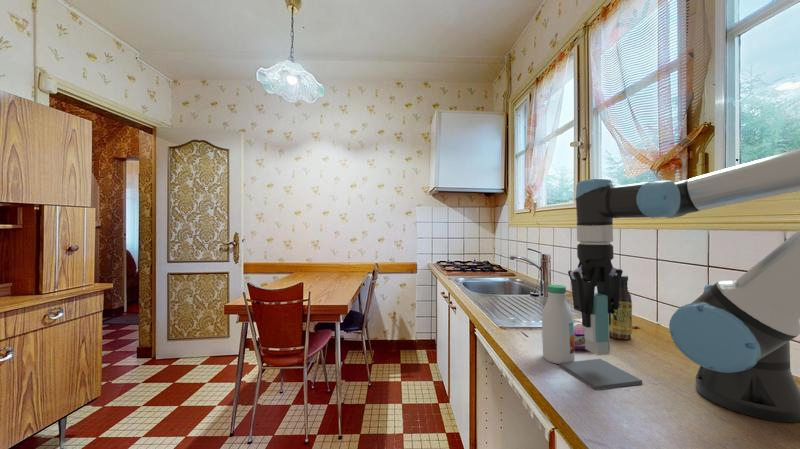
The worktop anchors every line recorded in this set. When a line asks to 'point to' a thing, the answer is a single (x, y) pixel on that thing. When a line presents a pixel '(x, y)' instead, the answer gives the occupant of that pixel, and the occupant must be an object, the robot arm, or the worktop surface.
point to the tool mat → (600, 374)
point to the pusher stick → (600, 326)
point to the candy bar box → (579, 335)
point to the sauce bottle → (622, 313)
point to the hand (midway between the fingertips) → (596, 339)
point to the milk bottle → (557, 327)
